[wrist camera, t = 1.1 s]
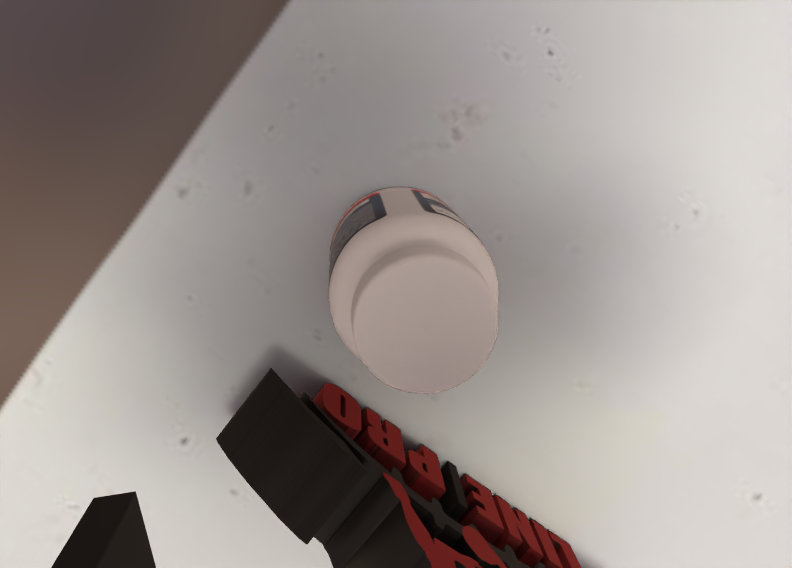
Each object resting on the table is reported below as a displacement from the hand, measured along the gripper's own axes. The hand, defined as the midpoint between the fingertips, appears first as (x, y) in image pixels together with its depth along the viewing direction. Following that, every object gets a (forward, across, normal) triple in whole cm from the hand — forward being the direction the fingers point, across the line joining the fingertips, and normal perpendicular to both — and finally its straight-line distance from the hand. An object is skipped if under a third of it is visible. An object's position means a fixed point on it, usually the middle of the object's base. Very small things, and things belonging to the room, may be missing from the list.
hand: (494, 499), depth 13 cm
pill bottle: (+15, 0, +1) cm, 15 cm away
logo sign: (+15, -1, -9) cm, 18 cm away
